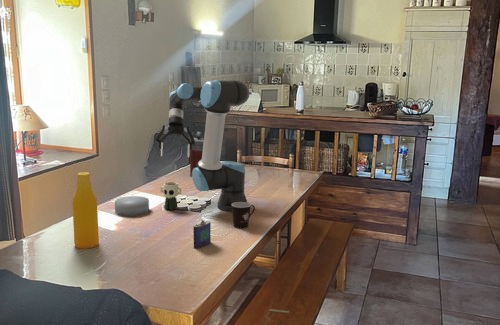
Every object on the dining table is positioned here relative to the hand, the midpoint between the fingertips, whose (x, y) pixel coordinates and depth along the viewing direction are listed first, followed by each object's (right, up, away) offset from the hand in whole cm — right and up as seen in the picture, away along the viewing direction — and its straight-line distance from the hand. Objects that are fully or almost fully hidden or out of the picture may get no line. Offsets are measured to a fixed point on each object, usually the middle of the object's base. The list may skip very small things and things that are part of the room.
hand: (175, 155), depth 247 cm
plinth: (-19, -27, -12) cm, 35 cm away
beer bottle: (-27, -36, -55) cm, 71 cm away
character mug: (-1, -26, -7) cm, 28 cm away
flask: (+19, -37, -52) cm, 67 cm away
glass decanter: (+4, -12, +62) cm, 63 cm away
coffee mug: (+35, -32, -29) cm, 56 cm away
